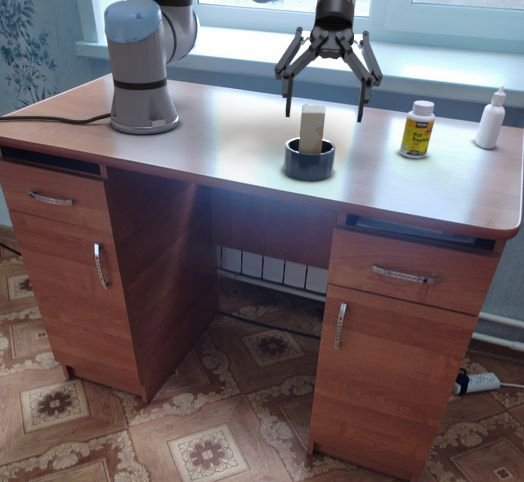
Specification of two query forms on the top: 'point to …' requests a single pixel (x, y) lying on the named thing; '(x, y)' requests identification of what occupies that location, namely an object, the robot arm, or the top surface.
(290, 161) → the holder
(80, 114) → the top surface
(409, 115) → the supplement bottle
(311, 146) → the box
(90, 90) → the top surface
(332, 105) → the top surface
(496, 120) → the eye dropper bottle
